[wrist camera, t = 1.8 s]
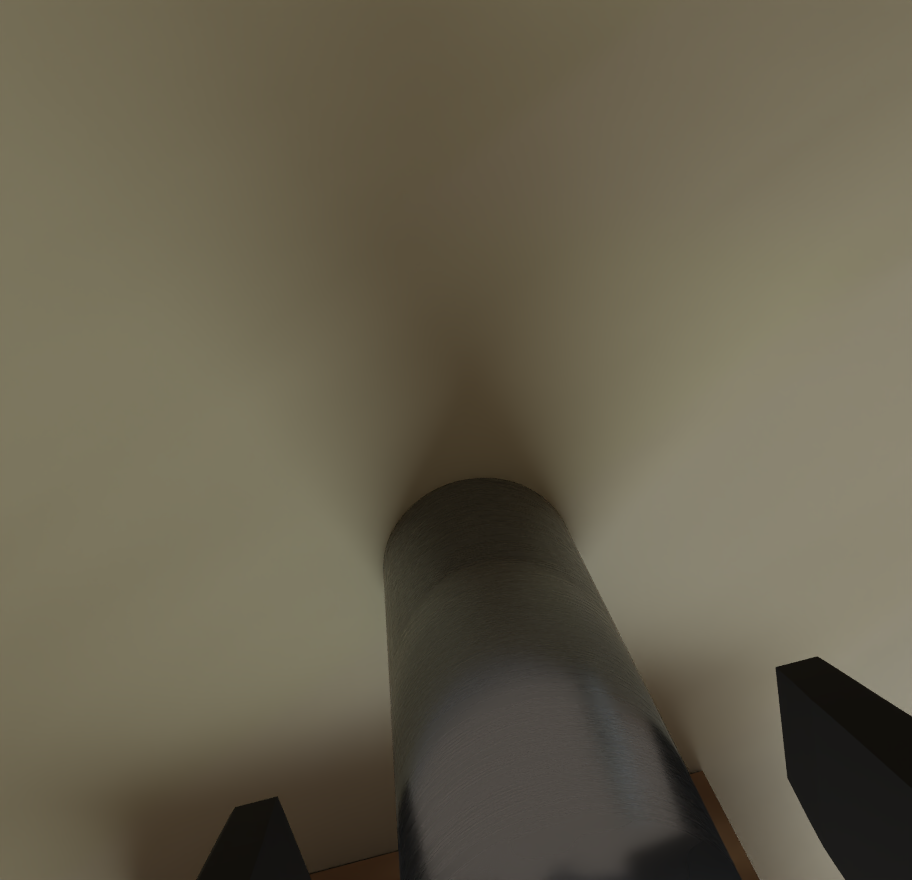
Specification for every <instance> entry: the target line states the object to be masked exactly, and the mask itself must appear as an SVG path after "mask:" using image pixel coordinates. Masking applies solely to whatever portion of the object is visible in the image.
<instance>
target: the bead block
mask: <svg viewBox="0 0 912 880" xmlns="http://www.w3.org/2000/svg"><path fill="white" fill-rule="evenodd" d="M690 776H691V778H692V780H693V782H694V784H695V786H696V788H697V790H698V792H699V794H700V796H701V798H702V800H703V802H704V804H705V807H706V809H707V811H708V813H709V815H710V817H711V819H712V821H713V823H714V825H715V827H716V829H717V831H718V833H719V835H720V837H721V839H722V841H723V843H724V845H725V847H726V849H727V851H728V853H729V855H730V857H731V859H732V861H733V863H734V865H735V867H736V869H737V871H738V873H739V875H740V877H741V879H742V880H759V878H758V876H757V874H756V872H755V870H754V868H753V867H752V865H751V863H750V861H749V859H748V857H747V855H746V853H745V851H744V849H743V847H742V846H741V844H740V842H739V840H738V838H737V836H736V834H735V832H734V830H733V828H732V826H731V824H730V823H729V821H728V819H727V817H726V815H725V813H724V811H723V809H722V807H721V805H720V803H719V801H718V800H717V798H716V796H715V794H714V792H713V790H712V788H711V786H710V784H709V782H708V780H707V778H706V777H705V775H704V773H703V771H700V772H697V773H693V774H690ZM310 878H311V880H400V871H399V852H398V851H397V852H393V853H389V854H385V855H382V856H378V857H374V858H370V859H366V860H363V861H359V862H355V863H351V864H347V865H344V866H340V867H336V868H332V869H328V870H325V871H321V872H317V873H313V874H310Z"/></svg>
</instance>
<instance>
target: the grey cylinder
mask: <svg viewBox="0 0 912 880" xmlns="http://www.w3.org/2000/svg"><path fill="white" fill-rule="evenodd" d="M383 571H384V590H385V609H386V627H387V646H388V665H389V684H390V702H391V721H392V740H393V759H394V777H395V796H396V815H397V833H398V852H399V871H400V880H742V879H741V877H740V875H739V873H738V871H737V869H736V867H735V865H734V863H733V861H732V859H731V857H730V855H729V853H728V851H727V849H726V847H725V845H724V843H723V841H722V839H721V837H720V835H719V833H718V831H717V829H716V827H715V825H714V823H713V821H712V819H711V817H710V815H709V813H708V811H707V809H706V807H705V804H704V802H703V800H702V798H701V796H700V794H699V792H698V790H697V788H696V786H695V784H694V782H693V780H692V778H691V776H690V774H689V772H688V770H687V768H686V766H685V764H684V762H683V760H682V758H681V756H680V754H679V752H678V750H677V748H676V746H675V744H674V742H673V740H672V738H671V736H670V734H669V732H668V730H667V728H666V726H665V724H664V722H663V720H662V718H661V716H660V714H659V712H658V710H657V708H656V706H655V704H654V702H653V700H652V698H651V696H650V694H649V692H648V690H647V688H646V686H645V684H644V682H643V680H642V678H641V676H640V674H639V672H638V670H637V668H636V666H635V664H634V662H633V660H632V658H631V656H630V654H629V652H628V650H627V648H626V646H625V644H624V642H623V640H622V638H621V636H620V634H619V632H618V630H617V628H616V626H615V624H614V622H613V620H612V618H611V616H610V614H609V612H608V610H607V608H606V606H605V604H604V602H603V600H602V598H601V596H600V594H599V592H598V590H597V588H596V586H595V584H594V582H593V580H592V578H591V576H590V574H589V572H588V570H587V568H586V566H585V564H584V562H583V560H582V558H581V556H580V554H579V552H578V550H577V548H576V546H575V544H574V542H573V540H572V538H571V536H570V534H569V532H568V530H567V528H566V526H565V524H564V522H563V520H562V518H561V517H560V515H559V514H558V512H557V511H556V510H555V509H554V508H553V507H552V505H551V504H550V503H549V502H547V501H546V500H545V499H544V498H543V497H542V496H540V495H539V494H537V493H536V492H534V491H532V490H531V489H529V488H526V487H524V486H522V485H520V484H517V483H513V482H510V481H506V480H500V479H491V478H477V479H468V480H463V481H457V482H454V483H451V484H448V485H445V486H443V487H441V488H438V489H436V490H434V491H432V492H431V493H429V494H427V495H426V496H424V497H423V498H421V499H420V500H419V501H418V502H416V503H415V504H414V505H413V506H412V507H411V508H410V509H409V510H408V511H407V512H406V513H405V514H404V515H403V516H402V518H401V519H400V520H399V522H398V523H397V524H396V526H395V528H394V530H393V532H392V533H391V536H390V538H389V541H388V543H387V546H386V551H385V555H384V565H383Z"/></svg>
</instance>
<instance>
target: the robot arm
mask: <svg viewBox="0 0 912 880" xmlns="http://www.w3.org/2000/svg"><path fill="white" fill-rule="evenodd" d="M776 676H777V685H778V694H779V704H780V713H781V722H782V732H783V741H784V750H785V759H786V769H787V778H788V780H789V782H790V784H791V786H792V788H793V790H794V792H795V793H796V795H797V797H798V799H799V801H800V803H801V805H802V807H803V809H804V811H805V813H806V815H807V817H808V819H809V821H810V823H811V824H812V826H813V828H814V830H815V832H816V834H817V836H818V838H819V839H820V841H821V843H822V845H823V847H824V848H825V850H826V851H827V853H828V854H829V856H830V857H831V859H832V861H833V862H834V864H835V865H836V867H837V868H838V870H839V871H840V873H841V874H842V876H843V877H844V879H845V880H912V716H910V715H909V714H907V713H905V712H904V711H902V710H901V709H899V708H898V707H896V706H894V705H893V704H891V703H890V702H888V701H887V700H885V699H883V698H882V697H880V696H879V695H877V694H876V693H874V692H872V691H871V690H869V689H868V688H866V687H865V686H863V685H862V684H860V683H858V682H857V681H855V680H854V679H852V678H851V677H849V676H848V675H846V674H845V673H843V672H841V671H840V670H838V669H837V668H835V667H834V666H832V665H830V664H829V663H827V662H826V661H824V660H822V659H821V658H819V657H818V656H817V657H813V658H809V659H806V660H802V661H798V662H794V663H790V664H786V665H782V666H779V667H776ZM196 880H311V878H310V875H309V873H308V870H307V868H306V865H305V863H304V860H303V858H302V855H301V853H300V850H299V848H298V846H297V843H296V841H295V838H294V836H293V833H292V831H291V828H290V826H289V823H288V821H287V818H286V816H285V813H284V811H283V809H282V806H281V804H280V801H279V799H278V796H277V797H273V798H270V799H266V800H262V801H258V802H254V803H250V804H246V805H243V806H239V807H235V809H234V810H233V812H232V813H231V815H230V817H229V819H228V820H227V822H226V824H225V826H224V828H223V830H222V832H221V834H220V836H219V838H218V839H217V841H216V843H215V845H214V847H213V849H212V851H211V853H210V855H209V857H208V859H207V861H206V862H205V864H204V866H203V868H202V870H201V872H200V874H199V876H198V878H197V879H196Z"/></svg>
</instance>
